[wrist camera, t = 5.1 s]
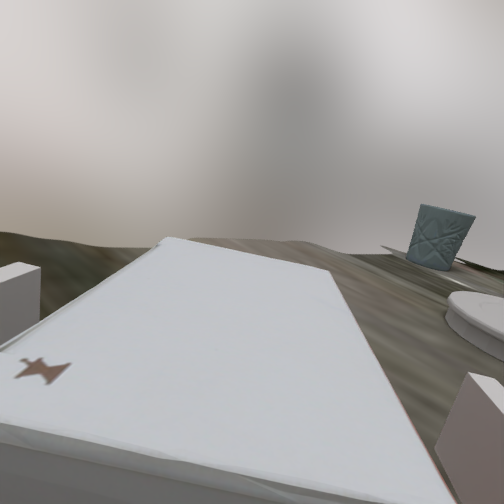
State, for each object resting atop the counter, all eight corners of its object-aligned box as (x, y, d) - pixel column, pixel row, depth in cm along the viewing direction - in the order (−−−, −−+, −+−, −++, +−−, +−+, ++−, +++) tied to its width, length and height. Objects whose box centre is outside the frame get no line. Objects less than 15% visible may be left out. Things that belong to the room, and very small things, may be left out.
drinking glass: (396, 253, 74) (413, 201, 71) (439, 262, 74) (457, 211, 71) (415, 266, 65) (436, 207, 62) (464, 276, 65) (488, 218, 62)
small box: (253, 999, 5) (508, 557, 3) (-70, 916, 6) (-145, 408, 3) (266, 509, 13) (335, 266, 10) (133, 478, 13) (165, 231, 10)
